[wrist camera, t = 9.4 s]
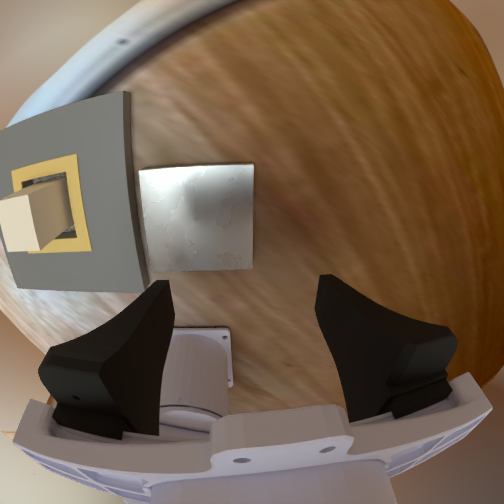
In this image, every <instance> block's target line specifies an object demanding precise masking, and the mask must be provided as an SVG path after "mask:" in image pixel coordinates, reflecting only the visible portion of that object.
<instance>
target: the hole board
mask: <svg viewBox="0 0 504 504" xmlns="http://www.w3.org/2000/svg"><path fill="white" fill-rule="evenodd" d="M62 172H66V176H67V184H68V191H69V198H70V204H71V210H72V215H73V220H74V225H75V230H76V231H74V232H62V233H61V234H60V235H58V236H57V237H56V238H55V239H54V240H52V241H51V242H50V243H49V244H47V245H46V246H45V247H44V248H43V249H42V250H40V251H18V252H8V251H7V248H6V244H5V240H4V237H3V233H2V229H1V225H0V236H1V239H2V243H3V247H4V250H5V253H6V257H7V260H8V263H9V266H10V269H11V272H12V274H13V277H14V280H15V283H16V285H17V288H22V289H38V290H57V291H83V292H127V293H143V292H144V291H145V290H146V289H147V287H148V285H149V280H148V275H147V270H146V264H145V259H144V253H143V247H142V241H141V235H140V228H139V221H138V213H137V205H136V197H135V187H134V177H133V164H132V149H131V125H130V93H129V92H126V91H119V92H114V93H110V94H105V95H101V96H97V97H93V98H89V99H85V100H82V101H78V102H75V103H71V104H68V105H65V106H62V107H59V108H56V109H53V110H50V111H47V112H44V113H42V114H39V115H36V116H34V117H31V118H29V119H26V120H24V121H21V122H19V123H17V124H14V125H12V126H10V127H8V128H6V129H4V130H1V131H0V199H2V198H4V197H6V196H8V195H10V194H12V193H15V192H17V191H19V190H21V189H23V188H25V187H28V186H30V185H32V179H35V178H39V177H43V176H48V175H52V174H57V173H62Z"/></svg>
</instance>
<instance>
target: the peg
mask: <svg viewBox="0 0 504 504" xmlns="http://www.w3.org/2000/svg"><path fill="white" fill-rule="evenodd" d="M73 224H74V220H73V215H72V210H71V204H70V198H69V191H68V184H67V176H66V177H60V178H55V179H50V180H45V181H40V182H37V183H35V184H32V185H30V186H28V187H25V188H23V189H21V190H19V191H17V192H15V193H12V194H10V195H8V196H6V197H4V198H2V199H0V225H1V229H2V233H3V237H4V240H5V244H6V248H7V251H8V252H18V251H40V250H42V249H43V248H44V247H45V246H46V245H47V244H49V243H50V242H51V241H52V240H54V239H55V238H56V237H57V236H58V235H60V234H61V233H62V232H64V231H65V230H66V229H67V228H69V227H70V226H71V225H73Z"/></svg>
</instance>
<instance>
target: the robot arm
mask: <svg viewBox="0 0 504 504" xmlns="http://www.w3.org/2000/svg"><path fill="white" fill-rule="evenodd" d="M315 312H316V316H317V320H318V323H319V326H320V329H321V331H322V333H323V336H324V338H325V340H326V342H327V345H328V347H329V349H330V352H331V354H332V356H333V358H334V361H335V364H336V367H337V370H338V374H339V377H340V381H341V385H342V389H343V393H344V397H345V402H346V407H347V412H348V418H349V421H348V418H347V415H346V413H345V410H344V408H342V407H339V406H337V405H334V404H321V405H313V406H307V407H299V408H292V409H283V410H273V411H261V412H246V413H237V414H231V415H229V390H228V388H229V387H232V386H233V372H232V356H231V340H230V330H229V329H228V328H173V327H174V319H175V312H174V306H173V301H172V296H171V290H170V284H169V280H156V281H155V282H154V283H153V284H152V285H151V286H150V287H148V288H147V289H146V290H145V291H144V292H143V293H142V294H141V295H140V296H139V297H138V298H137V299H136V300H135V301H133V302H132V303H131V304H130V305H129V306H127V307H126V308H125V309H124V310H123V311H122V312H120V313H119V314H118V315H116V316H115V317H114V318H112V319H111V320H109V321H108V322H106V323H105V324H103V325H101V326H99V327H98V328H96V329H94V330H92V331H91V332H89V333H87V334H85V335H82V336H80V337H78V338H76V339H73V340H71V341H68V342H65V343H62V344H59V345H56V346H53V347H50V349H49V350H48V352H47V354H46V356H45V357H44V359H43V361H42V363H41V365H40V367H39V369H38V374H39V377H40V379H41V381H42V383H43V385H44V386H45V387H46V388H47V390H48V391H49V393H50V394H51V395H52V397H53V398H54V399H55V400H56V402H57V405H56V408H53V407H52V406H50V405H48V404H45V403H43V402H40V401H37V400H34V399H30V401H29V403H28V405H27V407H26V409H25V412H24V414H23V416H22V419H21V421H20V424H19V426H18V429H17V431H16V434H15V437H14V439H13V444H14V445H15V446H17V447H18V448H19V449H20V450H21V451H23V452H24V453H25V454H26V455H28V456H29V457H30V458H31V459H33V460H34V461H35V462H37V463H38V464H39V465H41V466H42V467H44V468H45V469H47V470H49V471H51V472H54V473H56V474H58V475H61V476H63V477H66V478H68V479H71V480H73V481H76V482H78V483H81V484H83V485H87V486H89V487H92V488H95V489H97V490H100V491H103V492H107V493H110V494H113V495H116V496H120V497H122V499H123V501H124V502H125V503H126V504H397V501H396V498H395V495H394V492H393V489H392V486H391V483H390V480H389V478H391V477H393V476H395V475H397V474H400V473H402V472H404V471H406V470H408V469H410V468H412V467H413V466H416V465H418V464H420V463H421V462H423V461H425V460H427V459H429V458H431V457H432V456H434V455H436V454H438V453H439V452H441V451H443V450H445V449H446V448H448V447H449V446H451V445H453V444H455V443H456V442H458V441H459V440H461V439H463V438H464V437H465V436H466V435H467V434H468V433H469V432H470V431H472V430H473V429H474V428H475V427H476V426H477V425H478V424H479V423H480V422H481V421H482V419H484V417H486V415H487V414H488V413H489V412H490V411H491V410H492V406H491V404H490V403H489V401H488V399H487V398H486V396H485V395H484V393H483V392H482V390H481V389H480V387H479V386H478V384H477V383H476V381H475V380H474V379H473V377H472V376H471V374H470V373H469V372H467V373H465V374H463V375H461V376H459V377H457V378H455V379H453V380H452V381H450V382H449V383H448V382H447V380H446V378H447V376H448V373H447V372H446V370H445V368H446V367H447V365H448V363H449V362H450V360H451V359H452V357H453V355H454V353H455V351H456V349H457V345H458V339H457V338H456V336H455V335H454V334H453V332H452V331H451V330H450V329H449V328H448V327H446V326H441V325H435V324H430V323H426V322H422V321H419V320H415V319H412V318H409V317H406V316H404V315H401V314H398V313H396V312H394V311H392V310H389V309H387V308H385V307H383V306H381V305H379V304H378V303H376V302H374V301H372V300H371V299H369V298H367V297H366V296H364V295H363V294H361V293H359V292H358V291H356V290H355V289H353V288H352V287H350V286H349V285H348V284H346V283H345V282H343V281H342V280H340V279H339V278H337V277H336V276H334V275H332V274H327V275H320V277H319V284H318V290H317V297H316V303H315ZM224 336H227V337H224Z"/></svg>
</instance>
